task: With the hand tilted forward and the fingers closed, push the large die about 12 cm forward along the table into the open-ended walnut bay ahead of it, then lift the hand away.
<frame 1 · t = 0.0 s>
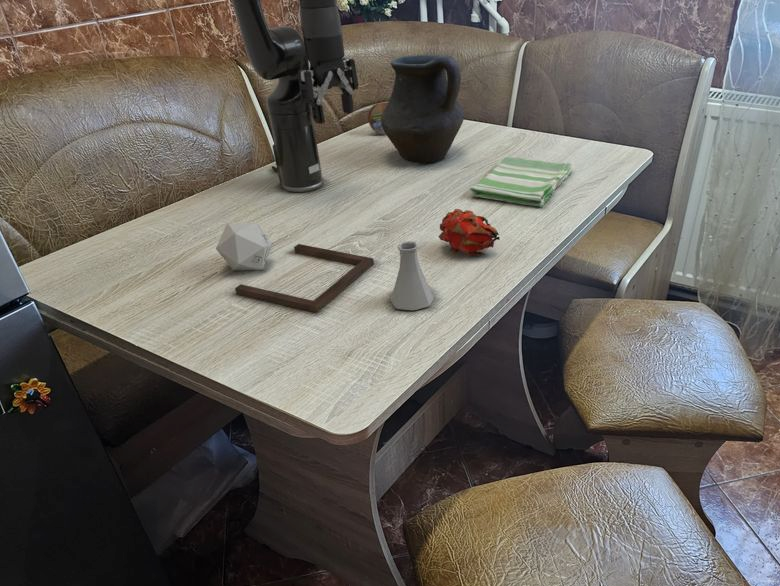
hand: (334, 117, 132), 17 cm above the table, tool pointing down, fingers open, 8 cm apart
pitcher: (427, 158, 162), on the table
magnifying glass: (395, 132, 181), on the table
dish towel: (521, 185, 145), on the table
dragon fruit: (469, 251, 118), on the table
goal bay: (304, 277, 111), on the table
die: (250, 267, 115), on the table
flask: (412, 301, 104), on the table
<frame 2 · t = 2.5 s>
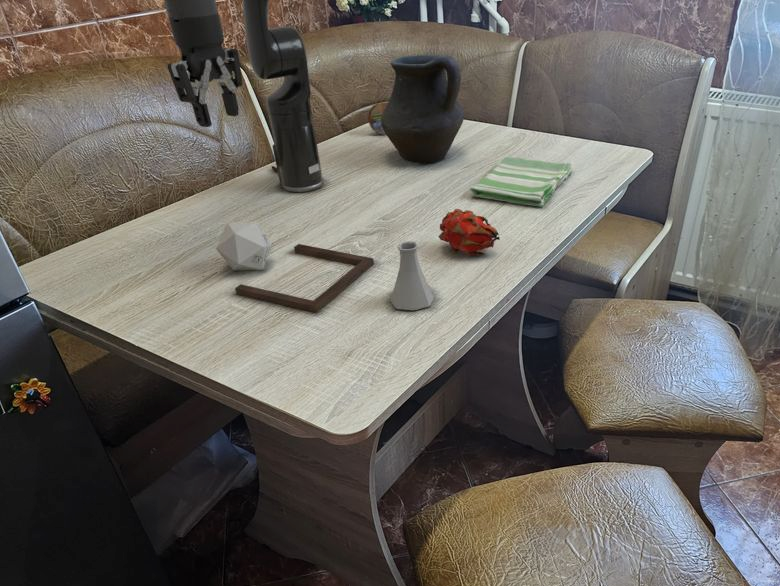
hand: (219, 120, 109), 24 cm above the table, tool pointing down, fingers open, 6 cm apart
nothing on the table moved.
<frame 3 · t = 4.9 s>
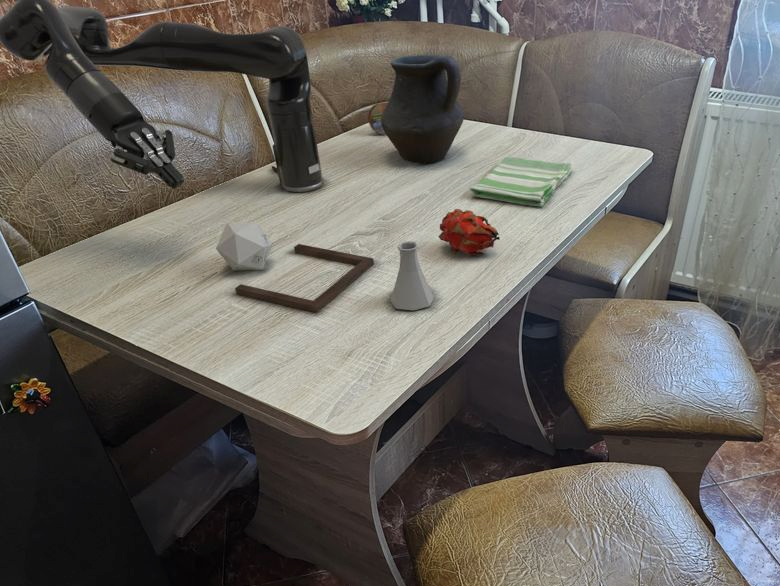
hand: (179, 185, 111), 14 cm above the table, tool tilted 45°, fingers closed
nothing on the table moved.
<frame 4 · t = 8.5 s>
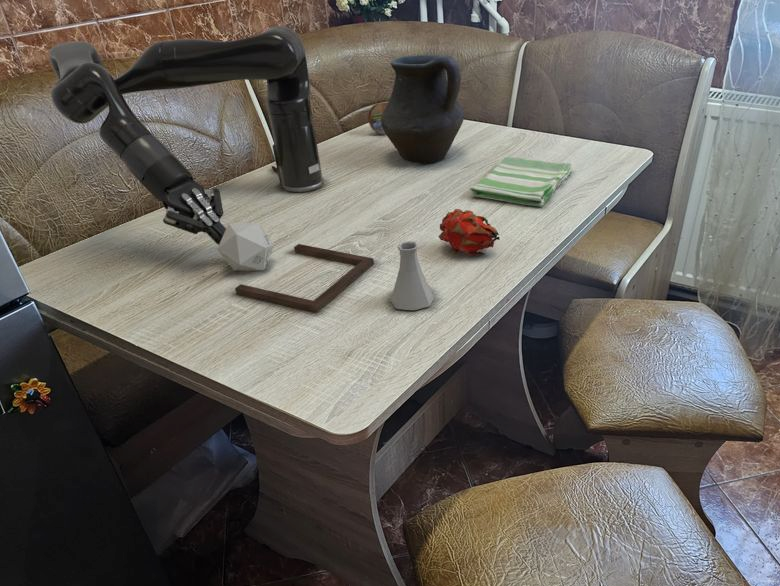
hand: (227, 242, 114), 4 cm above the table, tool tilted 45°, fingers closed
die: (251, 267, 115), on the table, touching gripper
everything else where it was.
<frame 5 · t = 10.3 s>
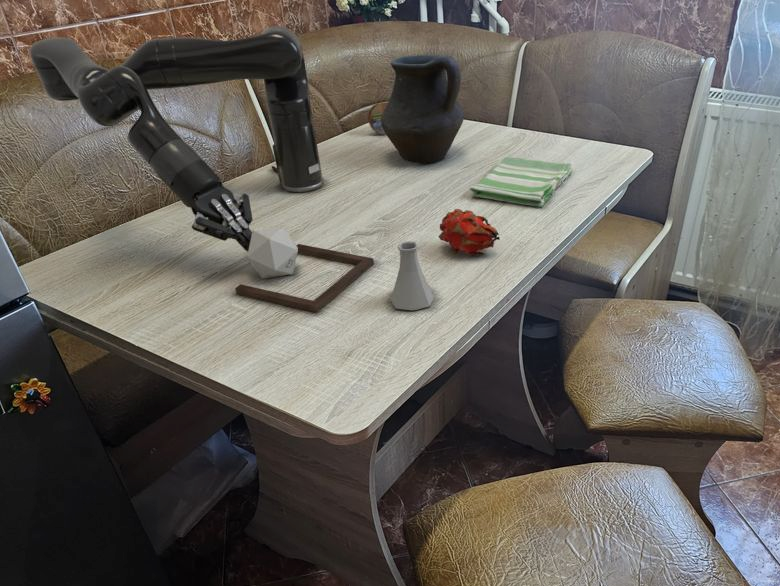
hand: (256, 249, 111), 4 cm above the table, tool tilted 45°, fingers closed
die: (277, 273, 113), on the table, touching gripper
everything else where it was.
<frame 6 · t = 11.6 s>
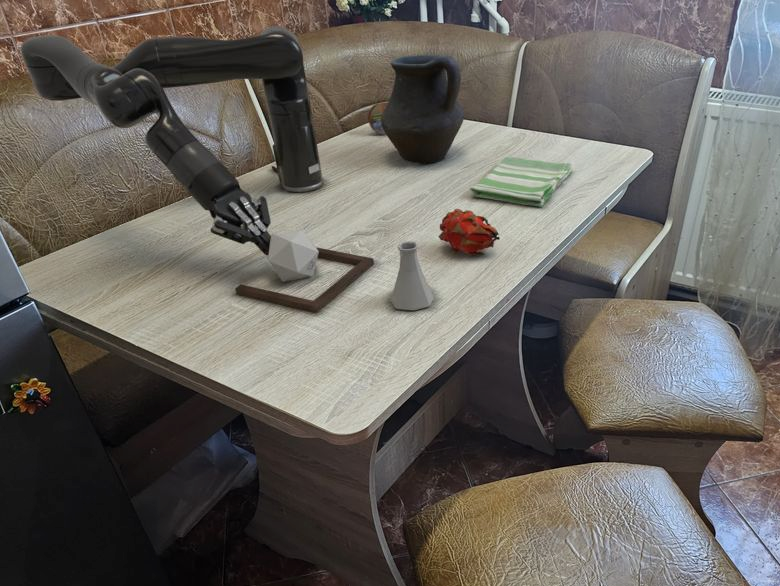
hand: (275, 253, 110), 4 cm above the table, tool tilted 45°, fingers closed
die: (297, 276, 112), on the table, touching gripper
everything else where it was.
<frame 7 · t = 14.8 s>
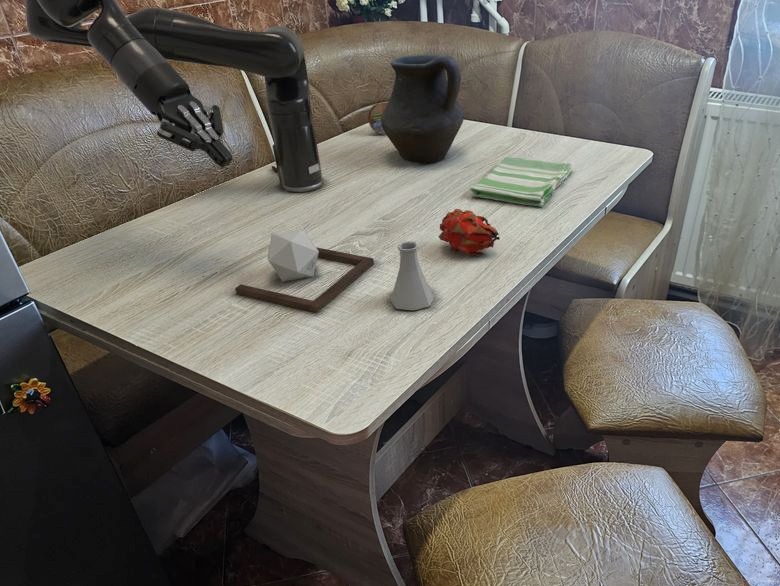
hand: (227, 163, 104), 19 cm above the table, tool tilted 45°, fingers closed
die: (297, 276, 112), on the table
everything else where it was.
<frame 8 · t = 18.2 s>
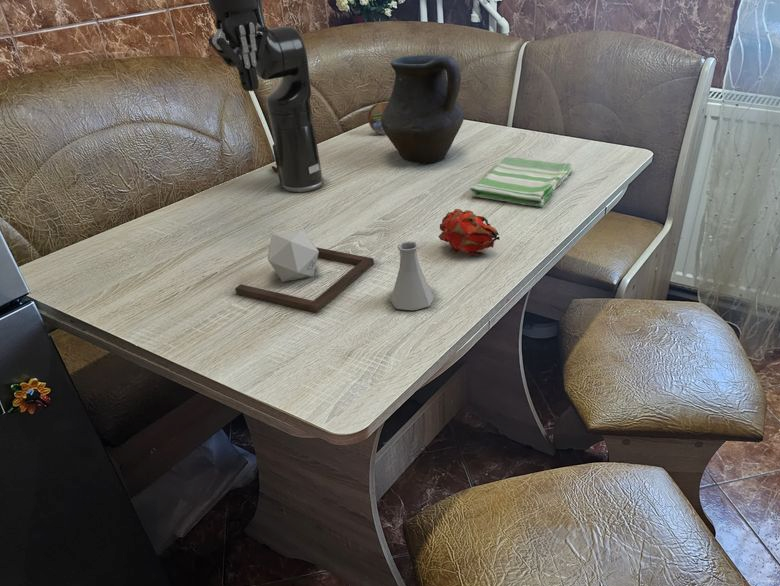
hand: (251, 89, 112), 27 cm above the table, tool pointing down, fingers closed
nothing on the table moved.
at the end: die moved 10.2 cm from its start; die inside the target area on the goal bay (2.0 cm from its centre), point 0.0 cm above the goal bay's base; die tilted 0° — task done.
